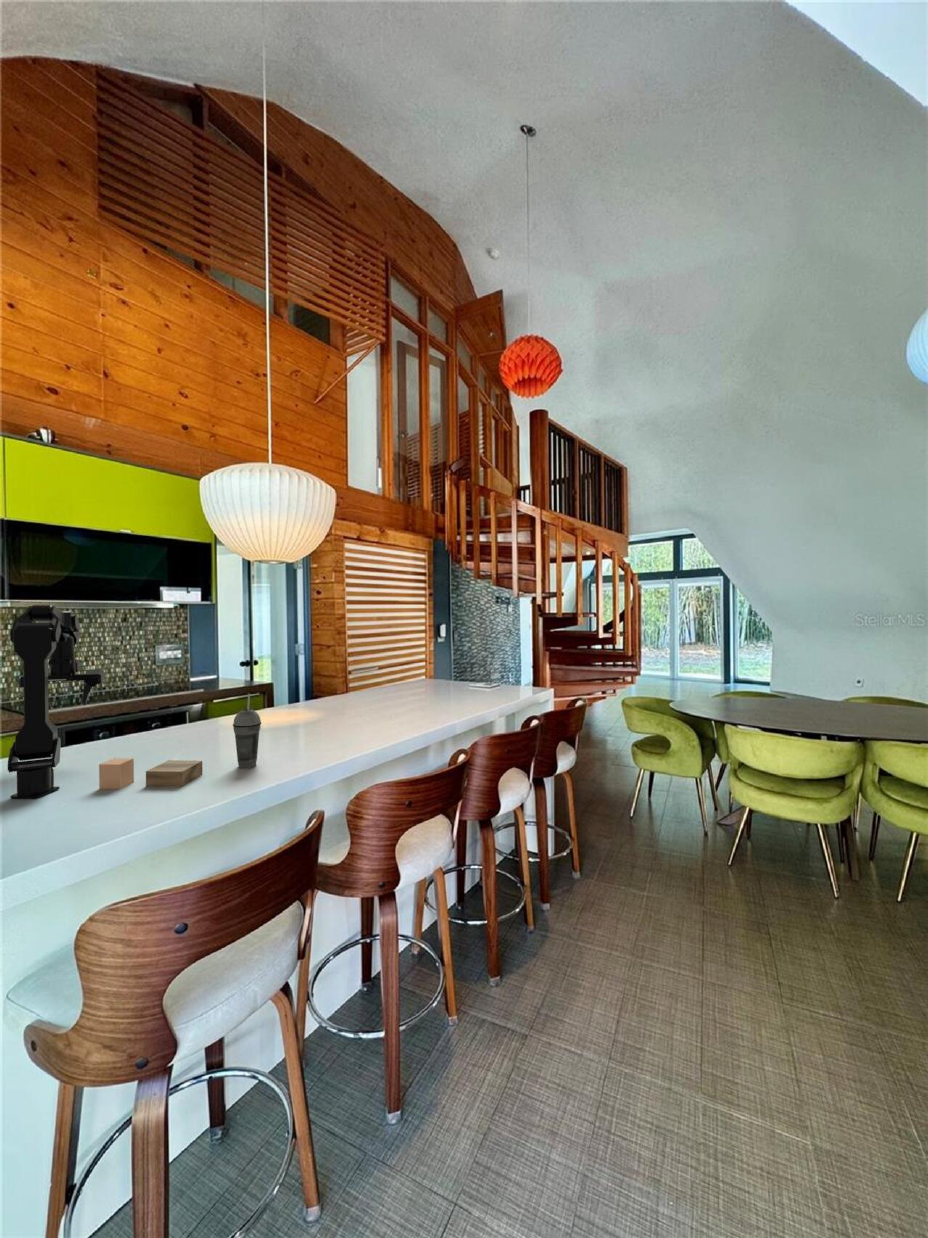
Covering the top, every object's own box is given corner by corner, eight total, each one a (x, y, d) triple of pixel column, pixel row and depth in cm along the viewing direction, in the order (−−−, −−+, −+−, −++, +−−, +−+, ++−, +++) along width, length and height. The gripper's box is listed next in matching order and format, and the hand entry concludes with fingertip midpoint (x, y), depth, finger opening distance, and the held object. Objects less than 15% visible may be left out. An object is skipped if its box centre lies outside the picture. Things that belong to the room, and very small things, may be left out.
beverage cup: (253, 760, 145) (252, 690, 145) (266, 765, 141) (266, 693, 140) (227, 766, 140) (227, 693, 139) (241, 771, 135) (240, 696, 135)
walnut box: (182, 788, 124) (182, 771, 124) (146, 787, 124) (145, 771, 124) (202, 776, 133) (202, 760, 133) (168, 775, 133) (168, 760, 133)
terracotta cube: (120, 789, 122) (119, 764, 122) (99, 789, 122) (99, 764, 122) (133, 782, 127) (133, 758, 127) (114, 782, 127) (113, 758, 127)
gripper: (107, 645, 155) (109, 694, 158) (29, 647, 147) (33, 698, 150) (99, 656, 145) (102, 707, 149) (15, 658, 137) (20, 712, 141)
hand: (65, 706), depth 147 cm, fingers open, 9 cm apart
